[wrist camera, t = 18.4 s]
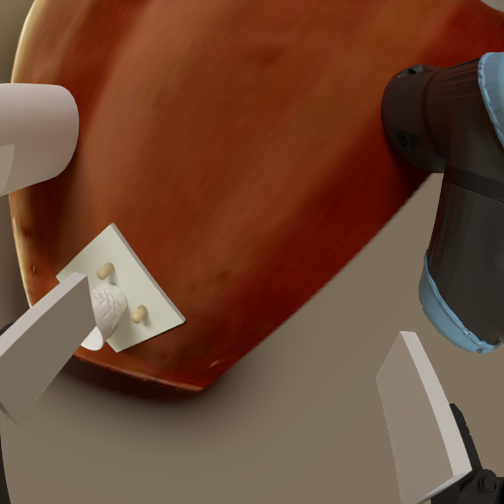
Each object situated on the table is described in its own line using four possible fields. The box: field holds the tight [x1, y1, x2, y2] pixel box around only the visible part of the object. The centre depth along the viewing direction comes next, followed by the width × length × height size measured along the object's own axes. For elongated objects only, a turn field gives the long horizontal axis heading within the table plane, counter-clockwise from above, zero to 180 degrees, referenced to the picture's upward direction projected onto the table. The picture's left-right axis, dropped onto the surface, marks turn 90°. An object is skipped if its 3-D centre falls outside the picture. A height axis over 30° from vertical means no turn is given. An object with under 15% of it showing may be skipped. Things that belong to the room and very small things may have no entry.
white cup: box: [81, 282, 127, 350], centre depth 42 cm, size 8×8×10 cm
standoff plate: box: [56, 223, 185, 352], centre depth 45 cm, size 20×20×4 cm
